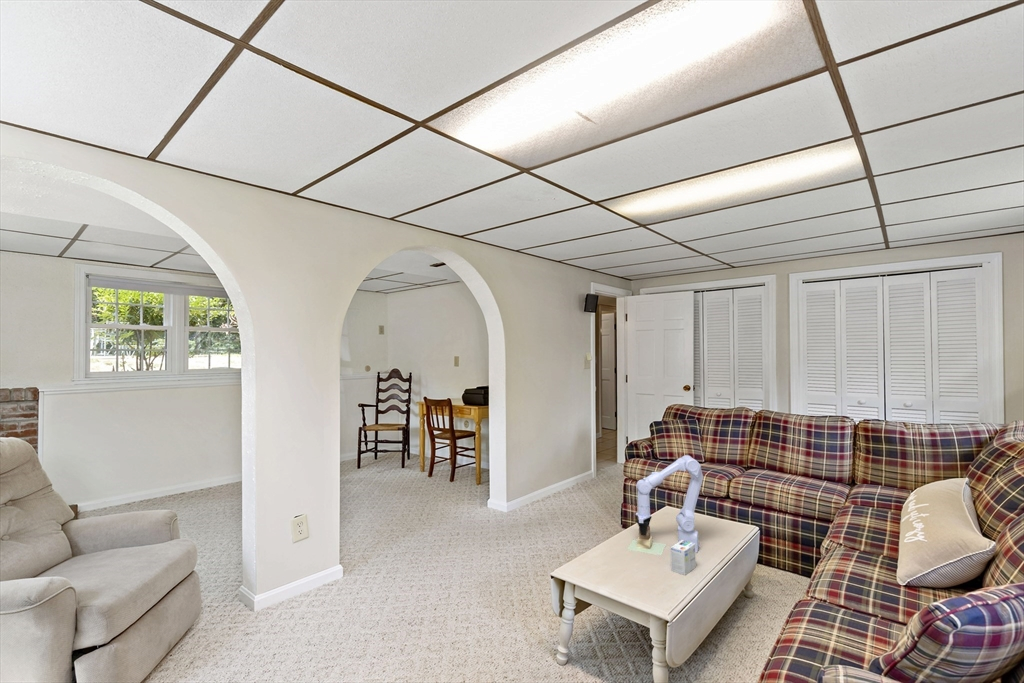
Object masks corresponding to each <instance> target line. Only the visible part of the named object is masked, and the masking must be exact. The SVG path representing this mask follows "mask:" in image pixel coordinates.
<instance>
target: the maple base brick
mask: <svg viewBox="0 0 1024 683" xmlns="http://www.w3.org/2000/svg"><path fill="white" fill-rule="evenodd" d="M636 540H637V547H640V548H646V549H650V548H651V546H652V542H653V536H651V535H650V538H649V540H645V539H639V536H638V537H637V538H636Z"/></svg>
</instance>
